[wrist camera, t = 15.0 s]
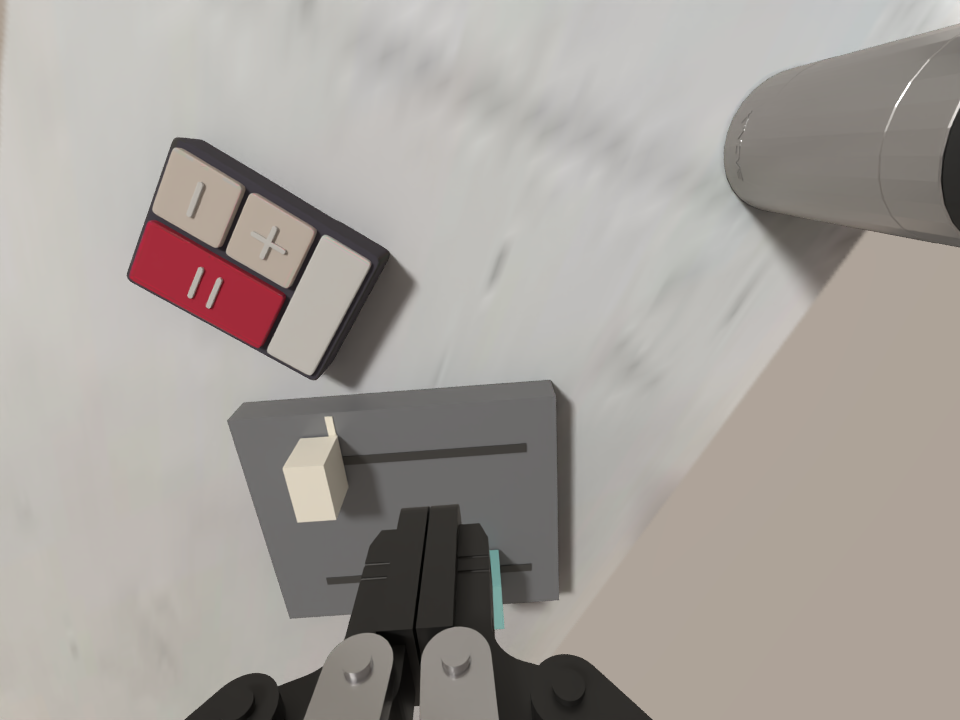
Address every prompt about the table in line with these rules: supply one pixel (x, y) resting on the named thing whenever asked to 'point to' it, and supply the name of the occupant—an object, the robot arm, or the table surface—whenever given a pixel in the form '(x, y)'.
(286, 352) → the calculator
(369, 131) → the table surface
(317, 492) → the block
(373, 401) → the console
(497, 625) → the fader teal
